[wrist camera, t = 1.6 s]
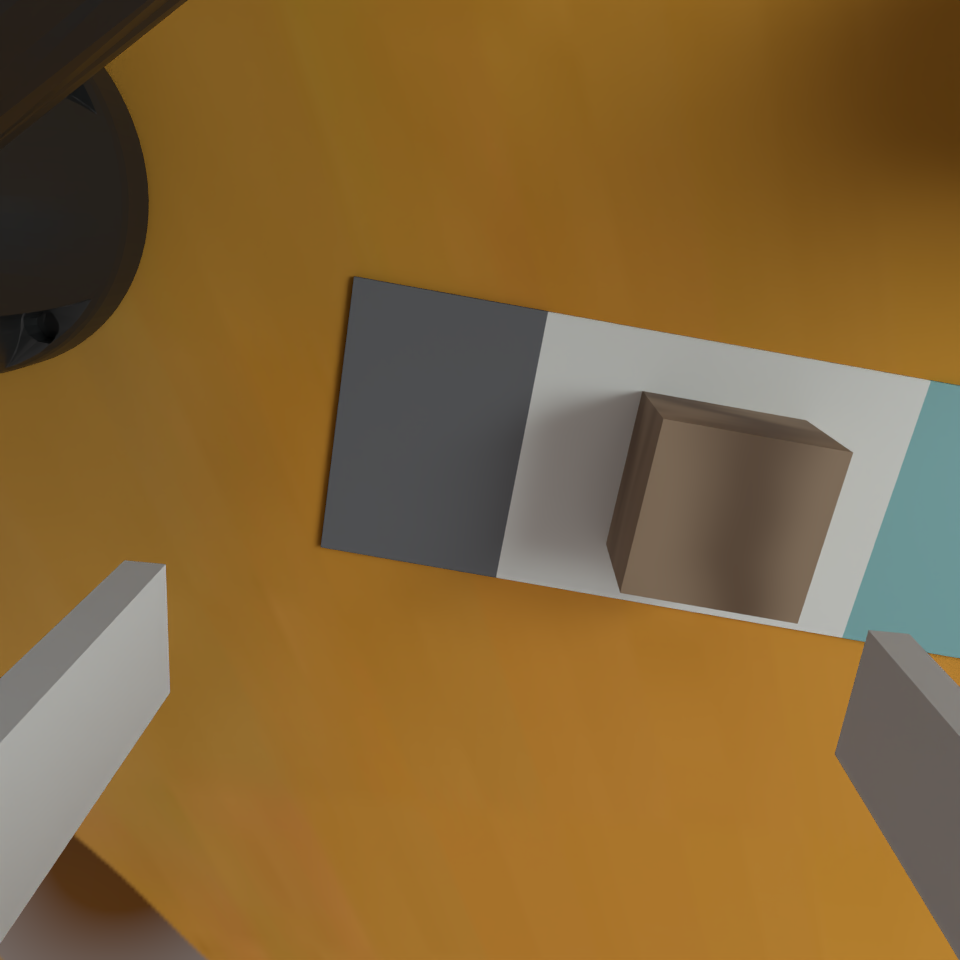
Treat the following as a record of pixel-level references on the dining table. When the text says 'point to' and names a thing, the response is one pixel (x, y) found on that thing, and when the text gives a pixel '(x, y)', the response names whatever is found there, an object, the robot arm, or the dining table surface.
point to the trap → (430, 425)
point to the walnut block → (724, 507)
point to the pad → (919, 538)
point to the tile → (702, 377)
